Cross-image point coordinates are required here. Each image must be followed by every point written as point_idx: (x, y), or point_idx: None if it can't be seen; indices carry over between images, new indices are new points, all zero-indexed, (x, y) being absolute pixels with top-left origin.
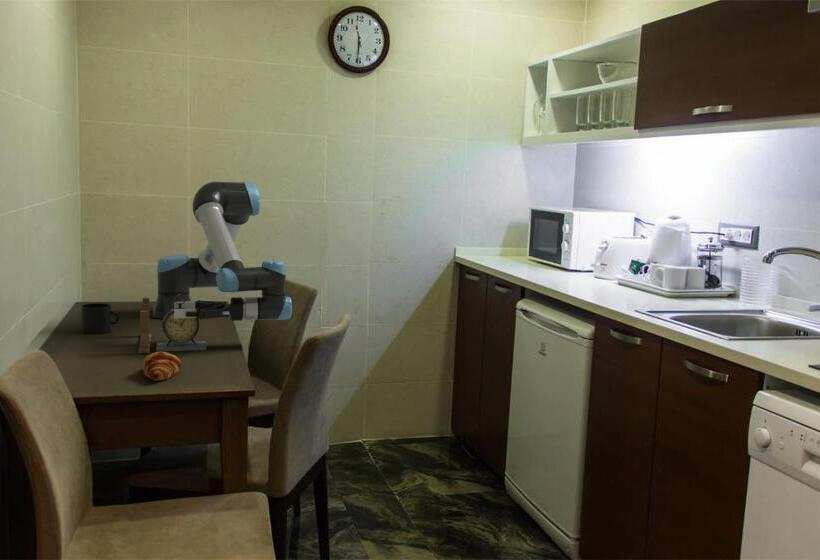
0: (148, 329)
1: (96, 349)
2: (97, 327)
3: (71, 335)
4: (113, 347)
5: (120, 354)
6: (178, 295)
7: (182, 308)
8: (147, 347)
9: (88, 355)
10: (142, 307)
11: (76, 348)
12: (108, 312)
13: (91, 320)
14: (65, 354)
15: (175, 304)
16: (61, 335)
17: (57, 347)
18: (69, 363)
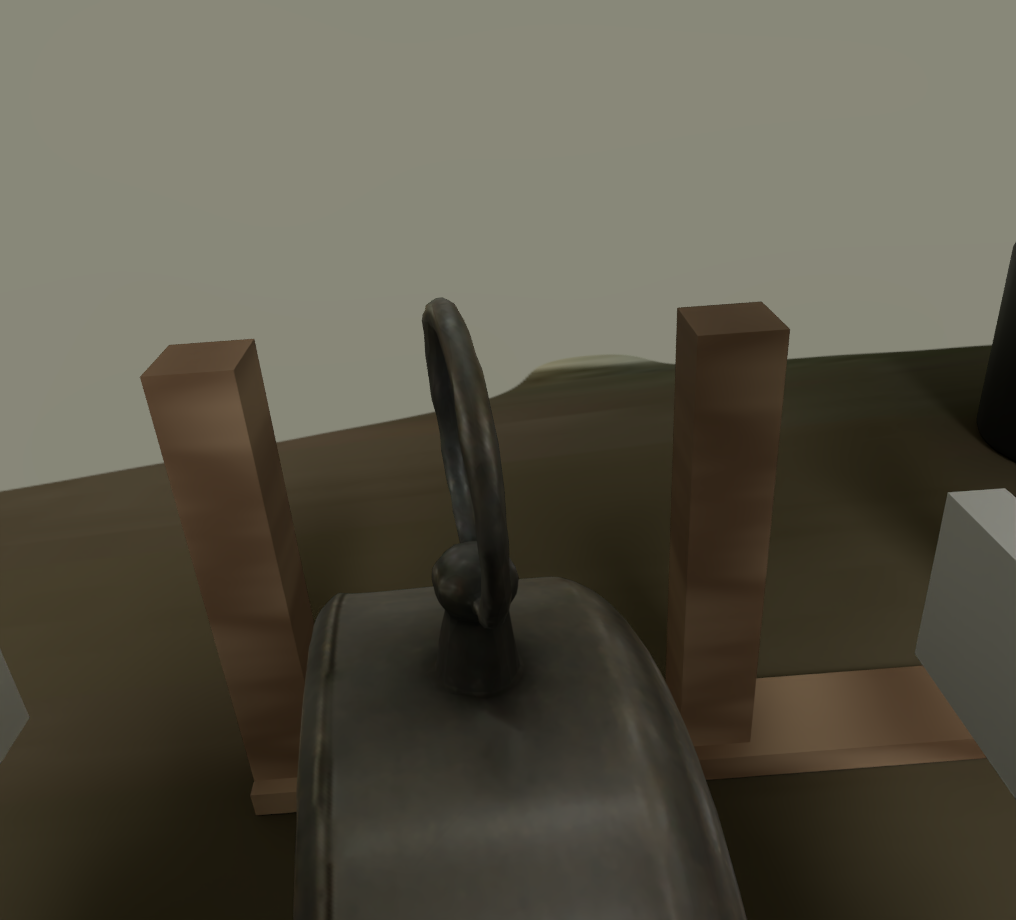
0: (733, 633)
1: (512, 509)
2: (1007, 409)
3: (902, 389)
4: (570, 567)
5: None
6: (428, 321)
7: (316, 712)
8: (266, 753)
9: (344, 504)
10: (679, 345)
11: (550, 446)
12: None
13: (998, 344)
14: (402, 438)
15: (951, 556)
16: (885, 368)
17: (579, 398)
18: None
